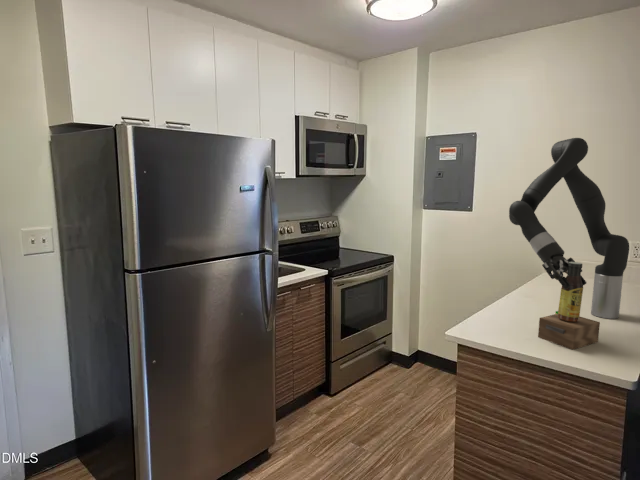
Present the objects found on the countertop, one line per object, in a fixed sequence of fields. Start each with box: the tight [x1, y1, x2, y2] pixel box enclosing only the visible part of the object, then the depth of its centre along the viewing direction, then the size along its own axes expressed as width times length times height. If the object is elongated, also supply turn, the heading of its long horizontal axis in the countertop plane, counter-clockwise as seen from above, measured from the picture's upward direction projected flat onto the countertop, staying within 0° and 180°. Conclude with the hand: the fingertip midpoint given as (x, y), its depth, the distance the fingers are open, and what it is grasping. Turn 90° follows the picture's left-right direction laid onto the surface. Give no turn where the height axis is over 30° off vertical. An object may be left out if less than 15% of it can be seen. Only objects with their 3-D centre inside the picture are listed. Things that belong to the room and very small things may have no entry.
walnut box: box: [537, 314, 601, 350], centre depth 136 cm, size 15×12×7 cm
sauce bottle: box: [557, 261, 584, 322], centre depth 135 cm, size 7×6×20 cm
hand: (576, 286), depth 133 cm, fingers open, 8 cm apart
